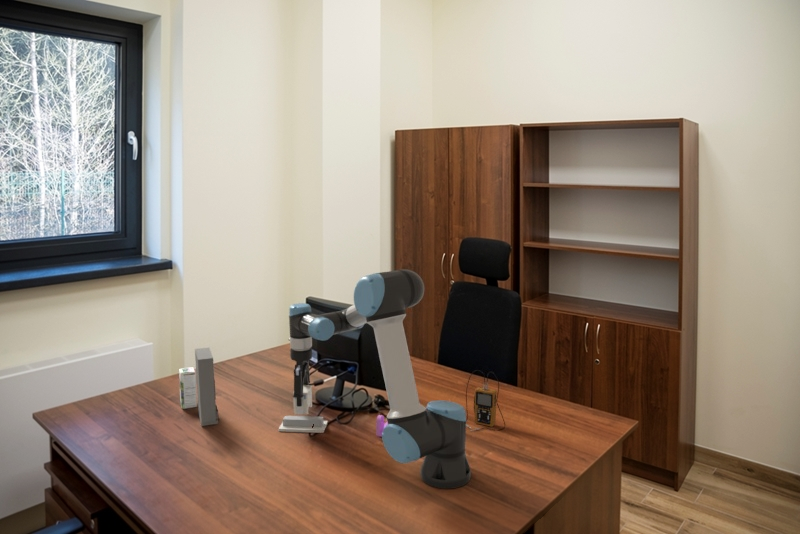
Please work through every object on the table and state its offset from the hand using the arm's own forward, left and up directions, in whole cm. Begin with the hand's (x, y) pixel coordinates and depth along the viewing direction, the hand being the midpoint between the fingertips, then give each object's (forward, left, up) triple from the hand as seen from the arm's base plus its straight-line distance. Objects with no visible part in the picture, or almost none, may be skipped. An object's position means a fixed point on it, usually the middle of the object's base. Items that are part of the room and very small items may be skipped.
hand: (302, 409), depth 232 cm
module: (0, 0, 0) cm, 0 cm away
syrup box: (+37, +35, -7) cm, 52 cm away
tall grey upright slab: (+22, +30, -7) cm, 38 cm away
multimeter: (-26, -58, -7) cm, 64 cm away
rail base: (0, 0, -7) cm, 7 cm away
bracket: (-14, -28, -7) cm, 32 cm away
